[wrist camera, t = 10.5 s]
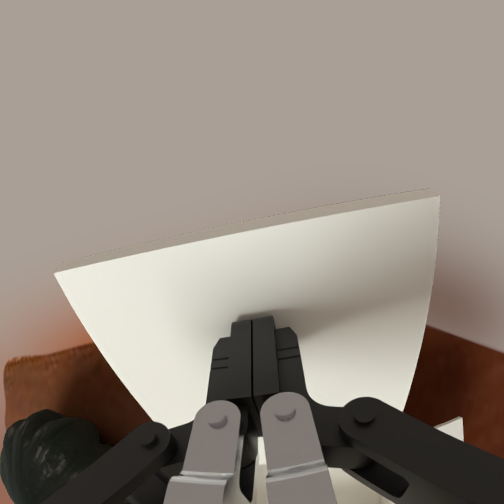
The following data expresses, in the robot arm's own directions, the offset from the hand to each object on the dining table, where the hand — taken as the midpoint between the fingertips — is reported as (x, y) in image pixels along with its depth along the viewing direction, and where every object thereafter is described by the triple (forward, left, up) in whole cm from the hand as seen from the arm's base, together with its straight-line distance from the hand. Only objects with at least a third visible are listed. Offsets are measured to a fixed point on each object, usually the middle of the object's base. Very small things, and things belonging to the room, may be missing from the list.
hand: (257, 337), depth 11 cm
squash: (+24, +12, -19) cm, 33 cm away
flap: (0, +8, -10) cm, 13 cm away
